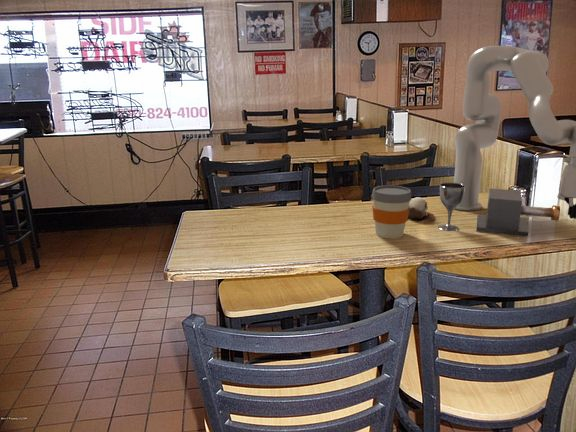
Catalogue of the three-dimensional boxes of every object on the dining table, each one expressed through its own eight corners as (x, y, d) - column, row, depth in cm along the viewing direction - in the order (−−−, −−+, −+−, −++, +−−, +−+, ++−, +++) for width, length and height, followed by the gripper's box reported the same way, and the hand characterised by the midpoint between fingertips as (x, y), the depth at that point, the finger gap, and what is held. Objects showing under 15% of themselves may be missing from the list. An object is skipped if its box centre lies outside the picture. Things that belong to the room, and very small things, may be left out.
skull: (407, 207, 205) (426, 191, 199) (425, 229, 202) (444, 212, 196) (392, 213, 196) (411, 196, 190) (410, 236, 193) (430, 219, 187)
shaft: (506, 218, 182) (507, 203, 180) (505, 213, 186) (507, 199, 185) (558, 222, 177) (560, 208, 175) (556, 218, 181) (558, 204, 180)
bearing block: (476, 231, 181) (479, 198, 178) (477, 217, 195) (480, 187, 192) (528, 236, 176) (532, 202, 172) (525, 222, 190) (529, 190, 187)
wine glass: (462, 225, 187) (466, 183, 182) (458, 232, 180) (463, 188, 175) (438, 223, 190) (442, 181, 185) (434, 229, 183) (438, 186, 179)
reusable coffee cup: (363, 230, 182) (364, 187, 178) (394, 226, 187) (397, 183, 182) (383, 242, 171) (386, 196, 167) (416, 237, 176) (419, 192, 171)
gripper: (556, 163, 171) (548, 218, 176) (610, 166, 166) (600, 223, 171) (554, 158, 178) (546, 212, 183) (605, 161, 173) (596, 216, 178)
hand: (572, 217), depth 177 cm, fingers closed
